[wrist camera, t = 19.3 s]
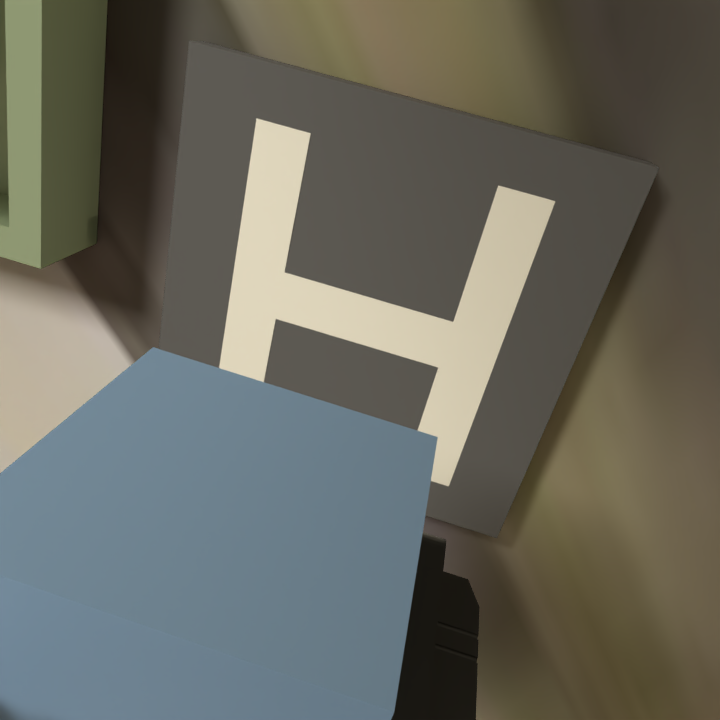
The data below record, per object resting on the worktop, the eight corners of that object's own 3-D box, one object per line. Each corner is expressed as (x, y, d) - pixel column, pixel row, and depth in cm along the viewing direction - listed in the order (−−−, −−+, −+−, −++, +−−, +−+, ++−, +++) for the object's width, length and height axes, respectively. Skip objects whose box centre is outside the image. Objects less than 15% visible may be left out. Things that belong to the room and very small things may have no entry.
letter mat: (204, 41, 18) (188, 40, 18) (651, 162, 18) (659, 168, 17) (163, 415, 24) (150, 428, 23) (496, 519, 23) (496, 538, 22)
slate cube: (152, 347, 11) (-87, 545, 6) (438, 436, 11) (395, 712, 6) (130, 560, 13) (-58, 817, 9) (365, 640, 13) (293, 950, 8)
